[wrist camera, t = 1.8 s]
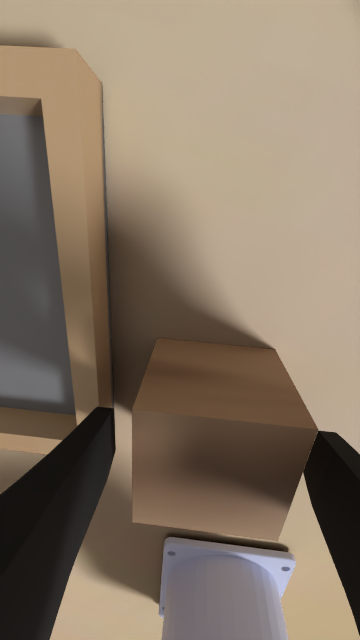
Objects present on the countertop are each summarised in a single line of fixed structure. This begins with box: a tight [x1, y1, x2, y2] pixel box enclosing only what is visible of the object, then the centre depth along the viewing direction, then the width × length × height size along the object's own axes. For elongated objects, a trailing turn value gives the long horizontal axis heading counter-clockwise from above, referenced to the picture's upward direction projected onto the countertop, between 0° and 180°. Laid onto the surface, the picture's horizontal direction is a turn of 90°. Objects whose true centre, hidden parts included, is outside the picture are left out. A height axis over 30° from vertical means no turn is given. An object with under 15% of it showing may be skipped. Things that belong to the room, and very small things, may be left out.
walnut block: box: [132, 338, 318, 541], centre depth 10 cm, size 5×5×4 cm
